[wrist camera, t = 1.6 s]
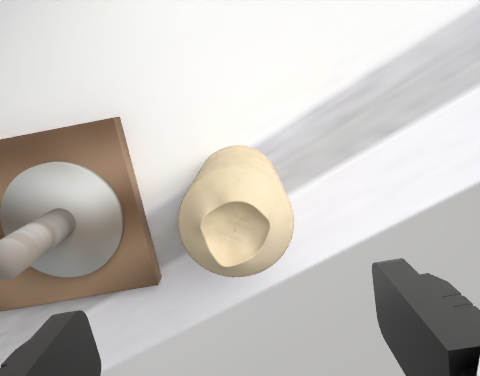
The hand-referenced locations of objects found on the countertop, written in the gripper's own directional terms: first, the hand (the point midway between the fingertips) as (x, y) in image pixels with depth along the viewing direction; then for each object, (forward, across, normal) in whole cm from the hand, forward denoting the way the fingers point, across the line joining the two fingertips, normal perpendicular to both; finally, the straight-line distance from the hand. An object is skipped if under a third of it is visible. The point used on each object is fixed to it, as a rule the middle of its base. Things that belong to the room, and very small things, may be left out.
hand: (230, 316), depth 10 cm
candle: (+16, 0, 0) cm, 16 cm away
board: (+16, +17, 0) cm, 23 cm away
